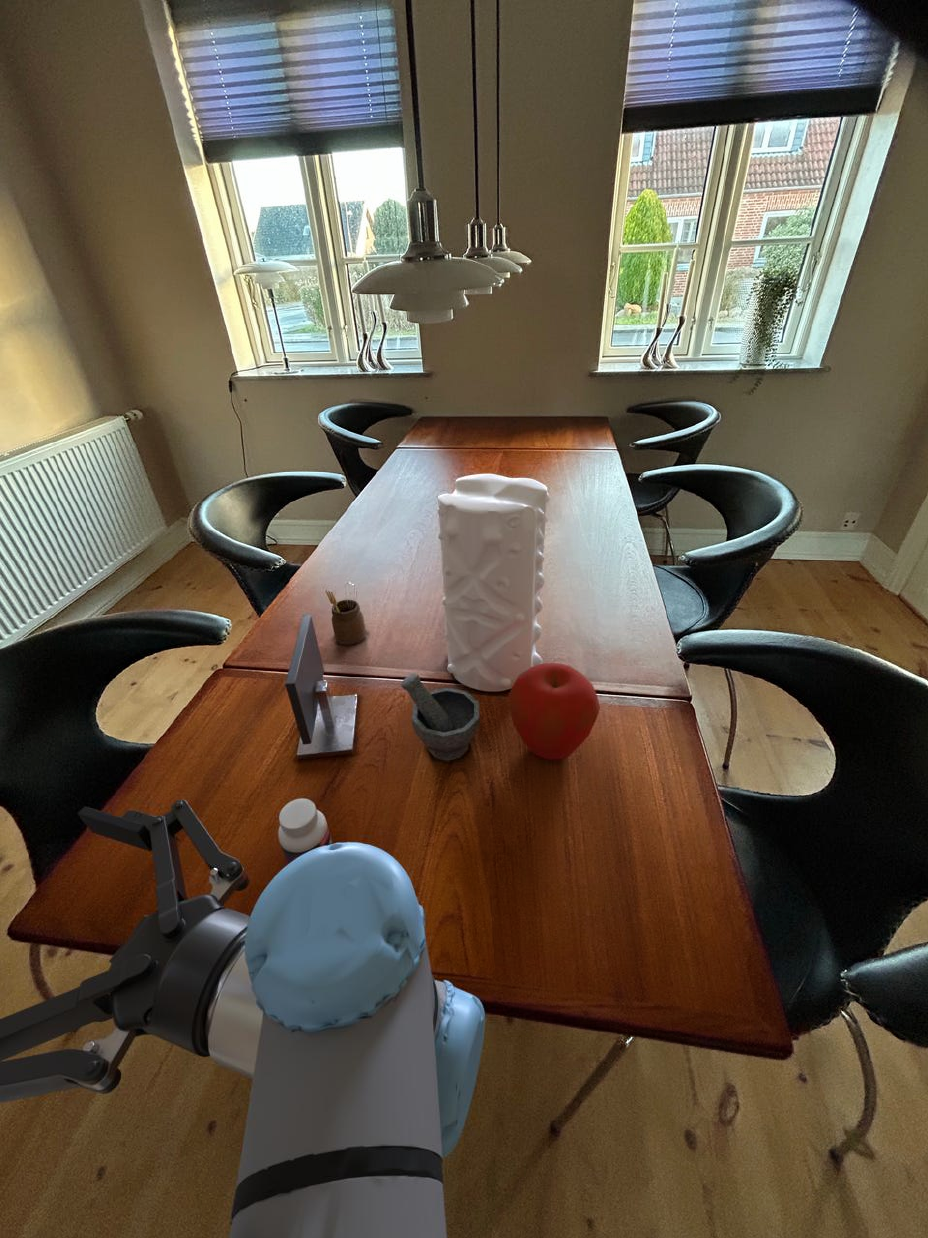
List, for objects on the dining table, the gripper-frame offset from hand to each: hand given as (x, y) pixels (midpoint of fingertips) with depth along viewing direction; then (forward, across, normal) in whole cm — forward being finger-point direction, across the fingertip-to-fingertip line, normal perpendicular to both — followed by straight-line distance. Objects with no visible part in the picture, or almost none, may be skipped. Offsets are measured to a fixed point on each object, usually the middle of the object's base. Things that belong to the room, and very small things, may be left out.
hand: (11, 895), depth 40 cm
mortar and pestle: (-18, +41, -22) cm, 50 cm away
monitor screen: (+1, +38, -17) cm, 42 cm away
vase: (-20, +61, -23) cm, 68 cm away
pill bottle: (-10, +18, -22) cm, 30 cm away
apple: (-34, +44, -23) cm, 60 cm away
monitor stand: (0, +39, -22) cm, 44 cm away
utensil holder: (+8, +61, -22) cm, 66 cm away
